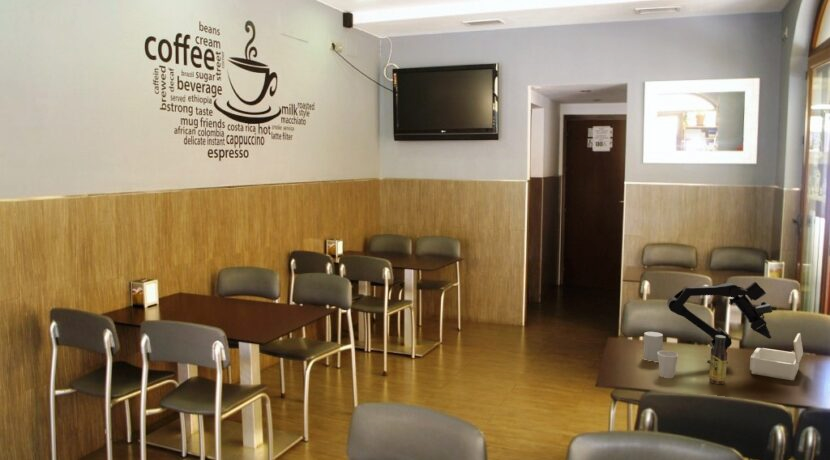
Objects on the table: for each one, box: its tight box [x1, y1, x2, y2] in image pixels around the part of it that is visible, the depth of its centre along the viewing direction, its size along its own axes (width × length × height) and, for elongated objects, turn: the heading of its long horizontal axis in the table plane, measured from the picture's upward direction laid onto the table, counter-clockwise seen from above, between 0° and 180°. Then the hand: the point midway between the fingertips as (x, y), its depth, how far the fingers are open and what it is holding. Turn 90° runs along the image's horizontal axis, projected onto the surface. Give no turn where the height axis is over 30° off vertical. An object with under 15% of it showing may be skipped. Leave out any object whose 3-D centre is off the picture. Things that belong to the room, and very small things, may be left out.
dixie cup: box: [658, 350, 679, 379], centre depth 290 cm, size 8×8×10 cm
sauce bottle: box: [708, 335, 728, 385], centre depth 282 cm, size 6×6×20 cm
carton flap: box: [792, 332, 804, 364], centre depth 291 cm, size 9×17×1 cm
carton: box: [749, 347, 800, 381], centre depth 297 cm, size 17×20×7 cm
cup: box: [642, 331, 664, 361], centre depth 313 cm, size 8×8×12 cm
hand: (769, 335), depth 301 cm, fingers open, 9 cm apart
